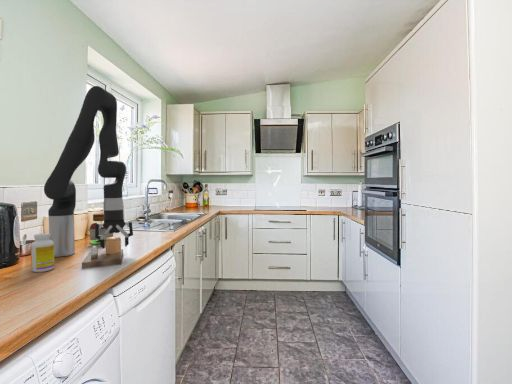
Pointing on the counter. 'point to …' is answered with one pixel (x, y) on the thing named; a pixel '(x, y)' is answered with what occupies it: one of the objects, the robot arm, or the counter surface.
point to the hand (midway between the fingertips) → (115, 247)
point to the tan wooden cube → (113, 245)
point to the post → (94, 252)
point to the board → (103, 259)
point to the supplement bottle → (42, 253)
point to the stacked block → (92, 229)
